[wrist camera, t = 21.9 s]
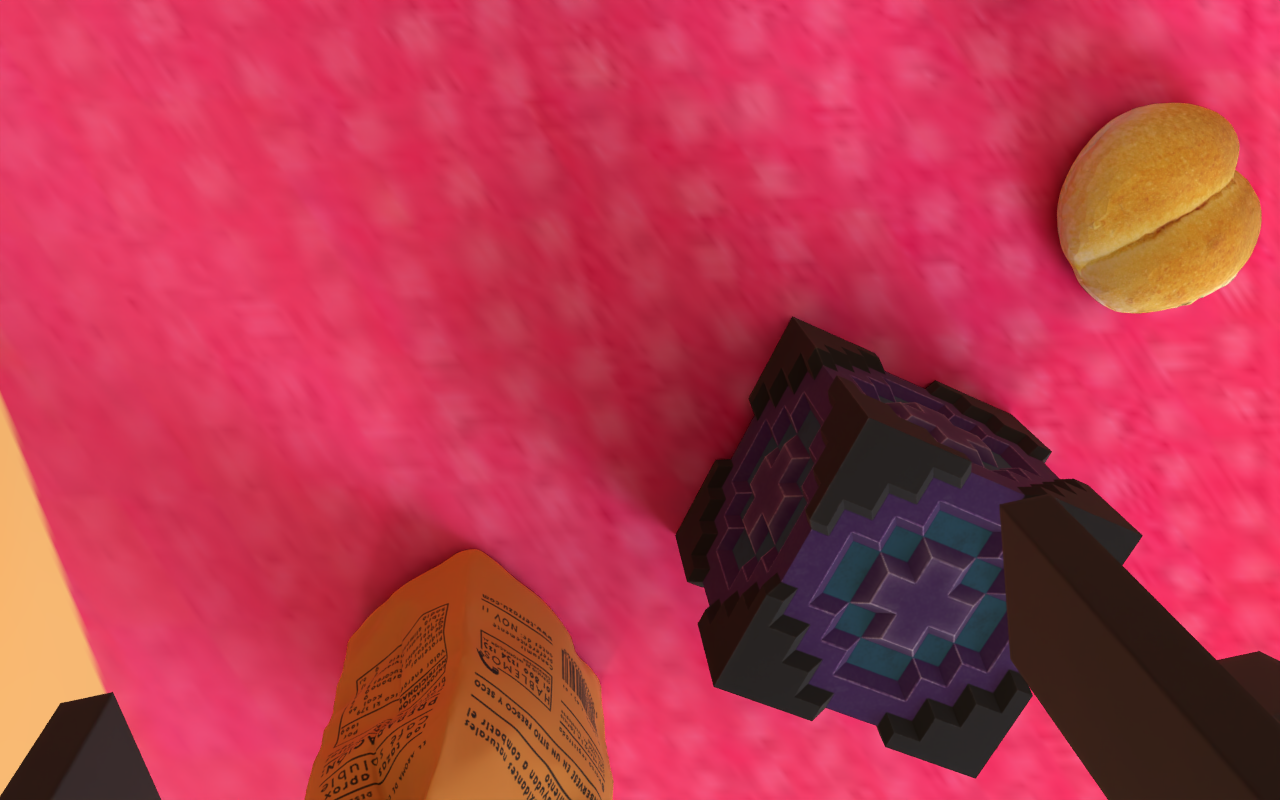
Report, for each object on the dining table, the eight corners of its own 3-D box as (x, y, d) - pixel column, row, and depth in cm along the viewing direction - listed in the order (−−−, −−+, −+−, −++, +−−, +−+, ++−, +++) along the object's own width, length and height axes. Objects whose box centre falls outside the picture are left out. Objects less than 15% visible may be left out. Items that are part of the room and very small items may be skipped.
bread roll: (1194, 65, 47) (1252, 73, 43) (1252, 245, 50) (1310, 266, 46) (1019, 162, 47) (1060, 178, 44) (1087, 332, 51) (1131, 360, 47)
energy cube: (792, 316, 49) (868, 417, 38) (1011, 414, 52) (1142, 535, 41) (675, 535, 53) (713, 686, 41) (886, 616, 55) (975, 778, 44)
